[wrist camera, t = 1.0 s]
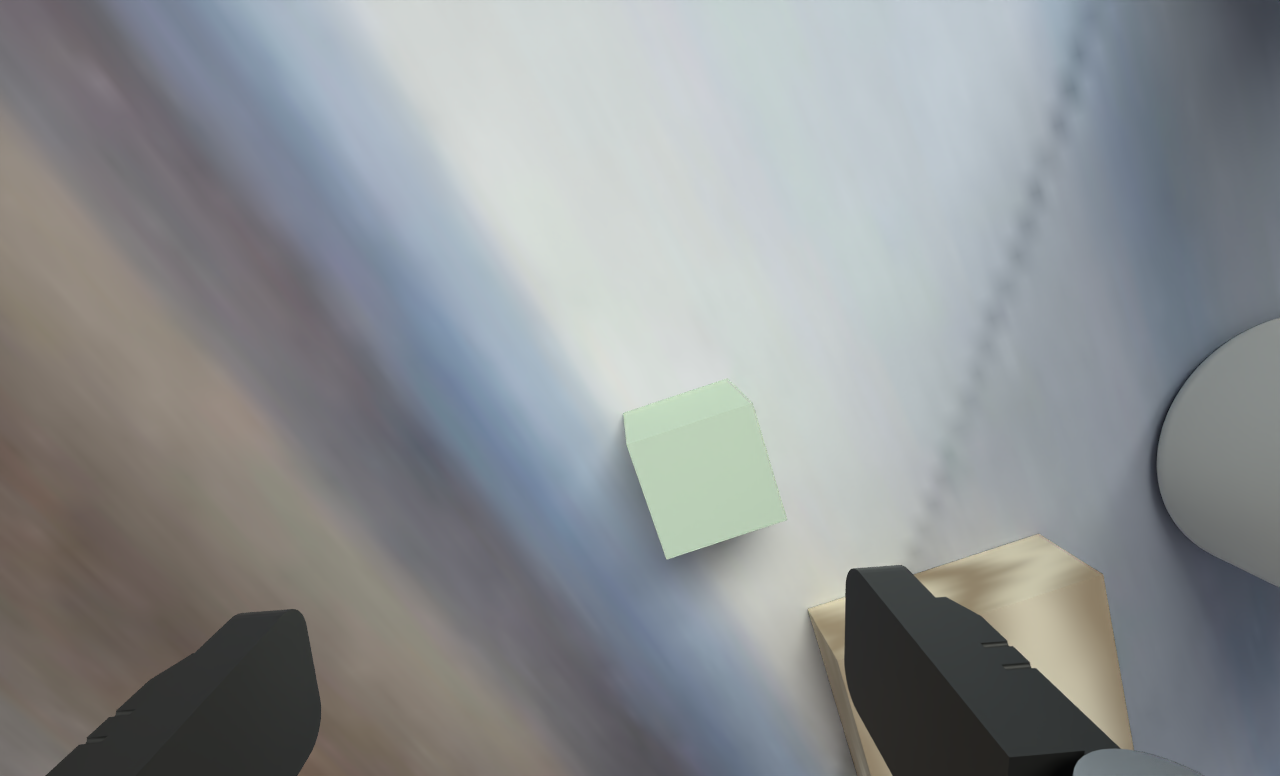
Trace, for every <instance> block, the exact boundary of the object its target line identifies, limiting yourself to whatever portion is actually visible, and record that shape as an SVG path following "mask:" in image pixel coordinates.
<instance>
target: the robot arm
mask: <svg viewBox="0 0 1280 776" xmlns="http://www.w3.org/2000/svg"><path fill="white" fill-rule="evenodd" d="M844 666H845V675H846V681H847V685H848V689H849V693H850V696H851V699H852V702H853V704H854V707H855V709H856V711H857V712H858V714H859V716H860V718H861V720H862V721H863V723H864V725H865V727H866V729H867V730H868V732H869V734H870V736H871V738H872V739H873V741H874V743H875V745H876V747H877V748H878V750H879V752H880V754H881V756H882V757H883V759H884V761H885V763H886V765H887V766H888V768H889V770H890V772H891V774H892V776H1203V775H1201V774H1200V773H1198V772H1196V771H1194V770H1192V769H1190V768H1187V767H1185V766H1183V765H1181V764H1178V763H1176V762H1173V761H1171V760H1168V759H1165V758H1162V757H1160V756H1156V755H1152V754H1149V753H1145V752H1140V751H1134V750H1129V749H1121V748H1120V747H1119V746H1118V745H1117V744H1115V743H1114V742H1113V741H1112V740H1111V739H1110V738H1109V737H1108V736H1107V735H1106V734H1105V733H1104V732H1103V731H1102V730H1101V729H1100V728H1099V727H1098V726H1097V725H1095V724H1094V723H1093V722H1092V721H1091V720H1090V719H1089V718H1088V717H1087V716H1086V715H1085V714H1084V713H1083V712H1082V711H1081V710H1080V709H1079V708H1078V707H1077V706H1075V705H1074V704H1073V703H1072V702H1071V701H1070V700H1069V699H1068V698H1067V697H1066V696H1065V695H1064V694H1063V693H1062V692H1061V691H1060V690H1059V689H1058V688H1057V687H1055V686H1054V685H1053V684H1052V683H1051V682H1050V681H1049V680H1048V679H1047V678H1046V677H1045V676H1044V675H1043V674H1042V673H1041V672H1040V671H1039V670H1038V669H1037V668H1031V665H1030V662H1029V661H1028V660H1027V659H1026V658H1025V657H1024V656H1023V655H1022V654H1021V653H1020V652H1019V651H1018V650H1017V649H1016V648H1014V647H1013V646H1009V645H1008V641H1007V640H1006V639H1005V638H1004V637H1003V636H1002V635H1001V634H1000V633H999V632H998V631H997V630H996V629H994V628H993V627H992V626H991V625H990V624H989V623H988V622H987V621H986V620H985V619H984V618H983V617H982V616H980V615H978V614H977V613H975V612H973V611H971V610H969V609H967V608H966V607H964V606H962V605H960V604H958V603H956V602H955V601H953V600H951V599H949V598H947V597H935V596H934V595H933V594H932V593H931V592H930V591H929V590H928V589H927V588H926V587H925V586H924V585H923V584H922V583H921V582H920V581H919V580H918V579H917V578H916V577H915V576H914V575H913V574H912V573H911V572H910V571H909V570H908V569H907V568H906V567H904V566H902V565H894V566H881V567H868V568H854V569H851V570H850V571H849V572H848V575H847V579H846V597H845V647H844ZM320 720H321V702H320V696H319V691H318V685H317V680H316V674H315V669H314V664H313V658H312V653H311V647H310V642H309V636H308V631H307V626H306V622H305V619H304V617H303V615H302V614H301V613H300V612H299V611H298V610H295V609H289V610H276V611H262V612H249V613H240V614H237V615H235V616H234V617H232V618H231V619H230V620H229V621H228V622H227V623H226V624H225V625H224V626H223V627H222V628H221V629H219V630H218V631H217V632H216V633H215V634H214V635H213V636H212V637H211V638H210V639H209V640H208V641H207V642H206V643H205V644H204V645H203V646H202V647H201V648H200V649H198V650H197V651H196V652H195V653H193V654H191V655H190V656H188V657H186V658H185V659H183V660H181V661H180V662H178V663H177V664H175V665H173V666H172V667H170V668H168V669H167V670H165V671H164V672H162V673H160V674H159V675H157V676H155V677H154V678H152V679H151V680H149V681H148V682H147V683H146V684H145V685H144V686H143V687H142V688H141V689H139V690H138V691H137V692H136V693H135V694H134V695H133V696H132V697H131V698H130V699H129V700H127V701H126V702H125V703H124V704H123V705H122V706H121V707H120V708H119V709H118V710H117V711H116V715H115V717H109V718H108V719H107V720H106V721H105V722H103V723H102V724H101V725H100V726H99V727H98V728H97V729H96V730H95V731H94V732H93V733H91V734H90V735H89V736H88V737H87V742H86V744H82V745H78V746H77V747H76V748H75V749H74V750H73V751H72V752H71V753H70V754H69V755H68V756H66V757H65V758H64V759H63V760H62V761H61V762H60V763H59V764H58V765H57V766H56V767H54V768H53V769H52V770H51V771H50V772H49V773H48V774H47V775H46V776H297V775H298V774H299V772H300V770H301V769H302V767H303V765H304V764H305V762H306V760H307V759H308V757H309V755H310V753H311V752H312V750H313V747H314V745H315V742H316V739H317V736H318V732H319V727H320Z"/></svg>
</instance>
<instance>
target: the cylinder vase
mask: <svg viewBox="0 0 1280 776" xmlns="http://www.w3.org/2000/svg"><path fill="white" fill-rule="evenodd" d="M1157 477H1158V484H1159V488H1160V492H1161V496H1162V499H1163V502H1164V504H1165V506H1166V509H1167V511H1168V513H1169V514H1170V516H1171V518H1172V519H1173V521H1174V522H1175V524H1176V525H1177V526H1178V528H1179V529H1180V530H1181V531H1182V532H1183V533H1184V534H1185V536H1187V537H1188V538H1189V539H1190V540H1191V541H1192V542H1193V543H1194V544H1196V545H1197V546H1198V547H1200V548H1201V549H1203V550H1204V551H1206V552H1208V553H1210V554H1211V555H1213V556H1215V557H1217V558H1219V559H1221V560H1224V561H1226V562H1228V563H1230V564H1232V565H1234V566H1236V567H1238V568H1240V569H1242V570H1244V571H1246V572H1248V573H1250V574H1252V575H1254V576H1256V577H1259V578H1261V579H1263V580H1265V581H1267V582H1269V583H1271V584H1273V585H1275V586H1277V587H1279V588H1280V318H1277V319H1274V320H1270V321H1267V322H1265V323H1262V324H1260V325H1257V326H1255V327H1253V328H1251V329H1248V330H1246V331H1245V332H1243V333H1241V334H1239V335H1237V336H1236V337H1234V338H1232V339H1231V340H1229V341H1228V342H1226V343H1225V344H1224V345H1222V346H1221V347H1219V348H1218V349H1217V350H1216V351H1214V352H1213V353H1212V354H1211V355H1210V356H1209V357H1208V358H1207V359H1205V360H1204V361H1203V362H1202V363H1201V364H1200V365H1199V366H1198V368H1197V369H1196V370H1195V371H1194V372H1193V373H1192V374H1191V376H1190V377H1189V378H1188V379H1187V381H1186V382H1185V383H1184V385H1183V386H1182V388H1181V389H1180V391H1179V392H1178V394H1177V396H1176V397H1175V399H1174V401H1173V403H1172V405H1171V407H1170V409H1169V411H1168V414H1167V416H1166V418H1165V421H1164V424H1163V427H1162V431H1161V434H1160V439H1159V444H1158V451H1157Z"/></svg>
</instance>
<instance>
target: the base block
mask: <svg viewBox="0 0 1280 776" xmlns="http://www.w3.org/2000/svg"><path fill="white" fill-rule="evenodd" d="M914 576H915V577H916V578H917V579H918V580H919V581H920V582H921V583H922V584H923V585H924V586H925V587H926V588H927V589H928V590H929V591H930V592H931V593H932V594H933V595H934V596H935V597H947V598H949V599H951V600H953V601H955V602H956V603H958V604H960V605H962V606H964V607H966V608H967V609H969V610H971V611H973V612H975V613H977V614H978V615H980V616H982V617H983V618H984V619H985V620H986V621H987V622H988V623H989V624H990V625H991V626H992V627H993V628H994V629H996V630H997V631H998V632H999V633H1000V634H1001V635H1002V636H1003V637H1004V638H1005V639H1006V640H1007V641H1008V645H1009V646H1013V647H1014V648H1016V649H1017V650H1018V651H1019V652H1020V653H1021V654H1022V655H1023V656H1024V657H1025V658H1026V659H1027V660H1028V661H1029V662H1030V665H1031V668H1037V669H1038V670H1039V671H1040V672H1041V673H1042V674H1043V675H1044V676H1045V677H1046V678H1047V679H1048V680H1049V681H1050V682H1051V683H1052V684H1053V685H1054V686H1055V687H1057V688H1058V689H1059V690H1060V691H1061V692H1062V693H1063V694H1064V695H1065V696H1066V697H1067V698H1068V699H1069V700H1070V701H1071V702H1072V703H1073V704H1074V705H1075V706H1077V707H1078V708H1079V709H1080V710H1081V711H1082V712H1083V713H1084V714H1085V715H1086V716H1087V717H1088V718H1089V719H1090V720H1091V721H1092V722H1093V723H1094V724H1095V725H1097V726H1098V727H1099V728H1100V729H1101V730H1102V731H1103V732H1104V733H1105V734H1106V735H1107V736H1108V737H1109V738H1110V739H1111V740H1112V741H1113V742H1114V743H1115V744H1117V745H1118V746H1119V747H1120V748H1121V749H1129V750H1134V748H1133V742H1132V736H1131V731H1130V725H1129V719H1128V714H1127V708H1126V702H1125V697H1124V691H1123V685H1122V679H1121V674H1120V668H1119V662H1118V657H1117V651H1116V645H1115V640H1114V634H1113V628H1112V623H1111V617H1110V611H1109V605H1108V600H1107V594H1106V588H1105V583H1104V577H1103V574H1102V573H1100V572H1098V571H1097V570H1095V569H1094V568H1092V567H1090V566H1089V565H1087V564H1086V563H1084V562H1083V561H1081V560H1079V559H1078V558H1076V557H1075V556H1073V555H1071V554H1070V553H1068V552H1067V551H1065V550H1064V549H1062V548H1060V547H1059V546H1057V545H1056V544H1054V543H1052V542H1051V541H1049V540H1048V539H1046V538H1045V537H1043V536H1041V535H1040V534H1036V535H1033V536H1030V537H1027V538H1024V539H1021V540H1018V541H1015V542H1012V543H1009V544H1006V545H1003V546H1000V547H997V548H994V549H990V550H987V551H984V552H981V553H978V554H975V555H972V556H969V557H966V558H963V559H960V560H957V561H954V562H951V563H948V564H944V565H941V566H938V567H935V568H932V569H929V570H926V571H923V572H920V573H917V574H914ZM808 612H809V615H810V619H811V622H812V625H813V629H814V632H815V635H816V639H817V642H818V645H819V649H820V652H821V655H822V659H823V662H824V665H825V669H826V672H827V676H828V679H829V682H830V686H831V689H832V692H833V696H834V699H835V702H836V706H837V709H838V712H839V716H840V719H841V723H842V726H843V729H844V733H845V736H846V739H847V743H848V746H849V749H850V753H851V756H852V759H853V763H854V766H855V769H856V773H857V776H892V774H891V772H890V770H889V768H888V766H887V765H886V763H885V761H884V759H883V757H882V756H881V754H880V752H879V750H878V748H877V747H876V745H875V743H874V741H873V739H872V738H871V736H870V734H869V732H868V730H867V729H866V727H865V725H864V723H863V721H862V720H861V718H860V716H859V714H858V712H857V711H856V709H855V707H854V704H853V702H852V699H851V696H850V693H849V689H848V685H847V681H846V675H845V666H844V647H845V597H843V598H840V599H837V600H834V601H831V602H828V603H825V604H822V605H819V606H816V607H813V608H810V609H808Z"/></svg>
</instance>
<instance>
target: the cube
mask: <svg viewBox="0 0 1280 776" xmlns="http://www.w3.org/2000/svg"><path fill="white" fill-rule="evenodd" d="M623 417H624V426H625V436H626V445H627V448H628V451H629V454H630V456H631V459H632V462H633V465H634V468H635V471H636V474H637V476H638V479H639V482H640V485H641V488H642V491H643V494H644V496H645V499H646V502H647V505H648V508H649V511H650V514H651V517H652V519H653V522H654V525H655V528H656V531H657V534H658V537H659V539H660V542H661V545H662V548H663V551H664V554H665V557H666V559H670V558H673V557H676V556H679V555H682V554H685V553H689V552H692V551H695V550H698V549H701V548H704V547H707V546H710V545H713V544H716V543H719V542H722V541H725V540H728V539H731V538H734V537H737V536H740V535H743V534H746V533H749V532H752V531H755V530H758V529H761V528H764V527H768V526H771V525H774V524H777V523H780V522H783V521H786V520H787V518H786V514H785V511H784V508H783V504H782V501H781V497H780V494H779V491H778V487H777V484H776V481H775V477H774V474H773V471H772V467H771V464H770V460H769V457H768V454H767V450H766V447H765V444H764V440H763V437H762V434H761V430H760V427H759V423H758V420H757V417H756V413H755V410H754V407H753V403H752V402H751V401H750V400H749V399H748V398H747V397H746V396H745V395H744V394H743V393H742V392H741V391H740V390H739V389H738V388H737V387H736V386H734V385H733V384H732V383H731V382H730V381H729V380H728V379H724V380H721V381H718V382H715V383H712V384H709V385H706V386H703V387H700V388H697V389H694V390H691V391H688V392H685V393H682V394H679V395H676V396H673V397H670V398H667V399H664V400H661V401H658V402H655V403H652V404H649V405H646V406H643V407H640V408H637V409H634V410H631V411H628V412H625V413H623Z"/></svg>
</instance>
